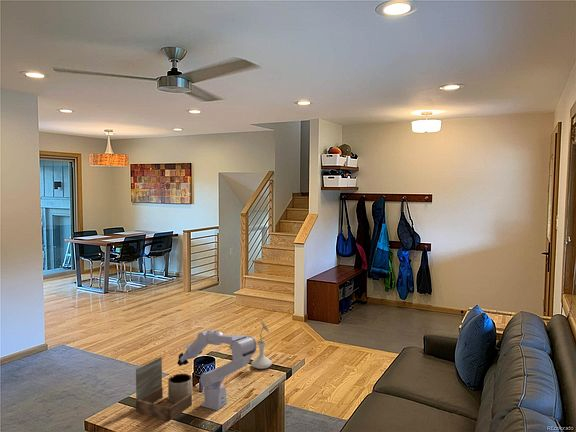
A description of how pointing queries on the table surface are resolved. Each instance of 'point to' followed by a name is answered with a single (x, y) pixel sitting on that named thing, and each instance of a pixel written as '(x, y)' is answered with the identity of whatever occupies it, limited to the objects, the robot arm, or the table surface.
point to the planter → (179, 387)
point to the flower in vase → (261, 354)
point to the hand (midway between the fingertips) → (184, 360)
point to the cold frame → (155, 393)
